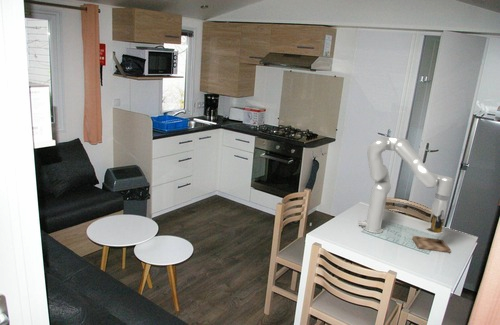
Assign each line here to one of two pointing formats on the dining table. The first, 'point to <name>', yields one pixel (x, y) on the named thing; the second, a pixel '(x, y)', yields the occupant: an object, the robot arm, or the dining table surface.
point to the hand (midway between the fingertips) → (435, 225)
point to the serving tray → (431, 244)
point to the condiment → (433, 228)
